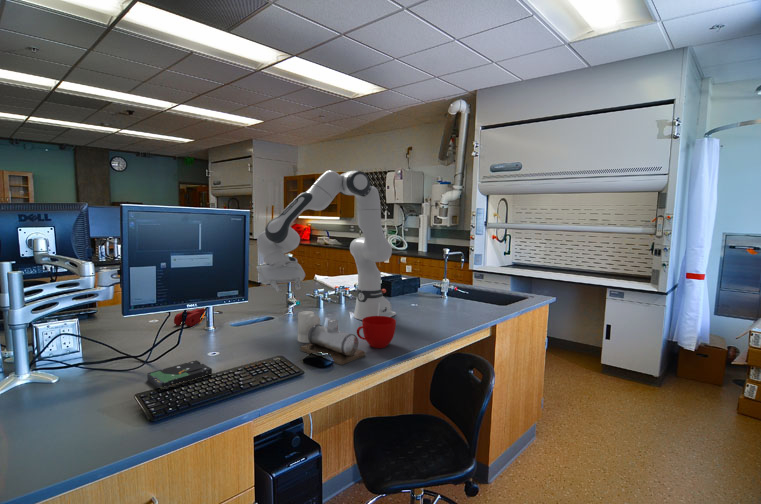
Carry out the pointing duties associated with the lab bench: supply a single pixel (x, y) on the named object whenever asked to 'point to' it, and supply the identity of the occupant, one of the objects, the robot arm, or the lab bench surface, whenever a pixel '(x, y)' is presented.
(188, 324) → the dark red rounded piece
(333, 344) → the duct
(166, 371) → the disk drive
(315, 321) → the duct elbow
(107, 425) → the lab bench surface
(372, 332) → the ceramic cup
